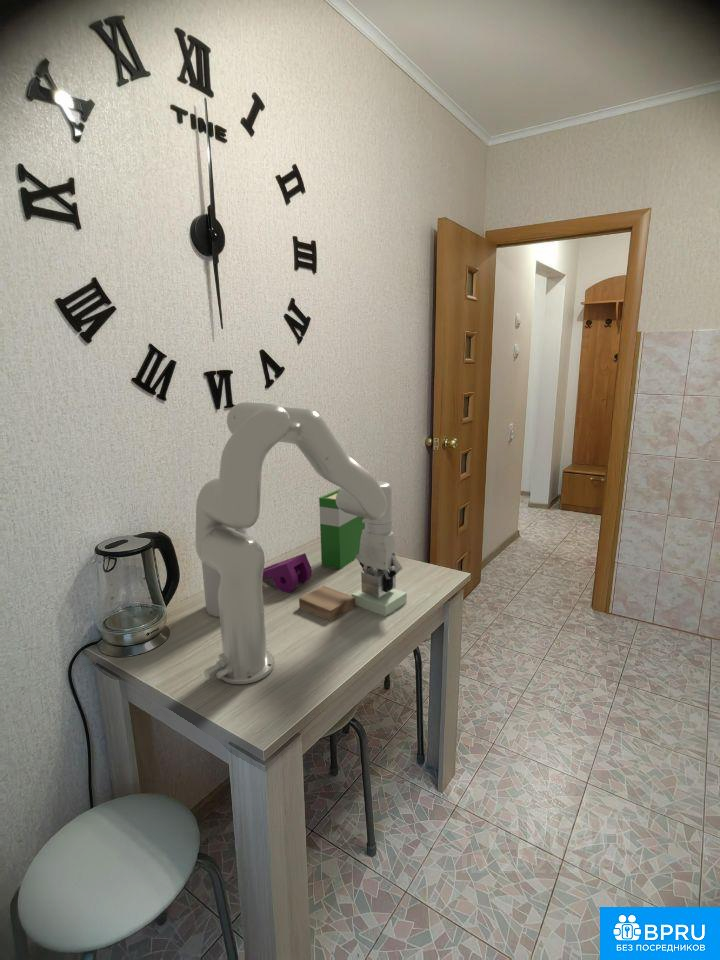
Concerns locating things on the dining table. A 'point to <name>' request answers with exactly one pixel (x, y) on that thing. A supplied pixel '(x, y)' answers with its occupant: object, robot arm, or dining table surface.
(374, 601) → the stand
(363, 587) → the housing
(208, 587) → the cylinder vase
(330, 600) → the stand
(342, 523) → the hardback book
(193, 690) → the dining table surface
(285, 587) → the mounting bracket
